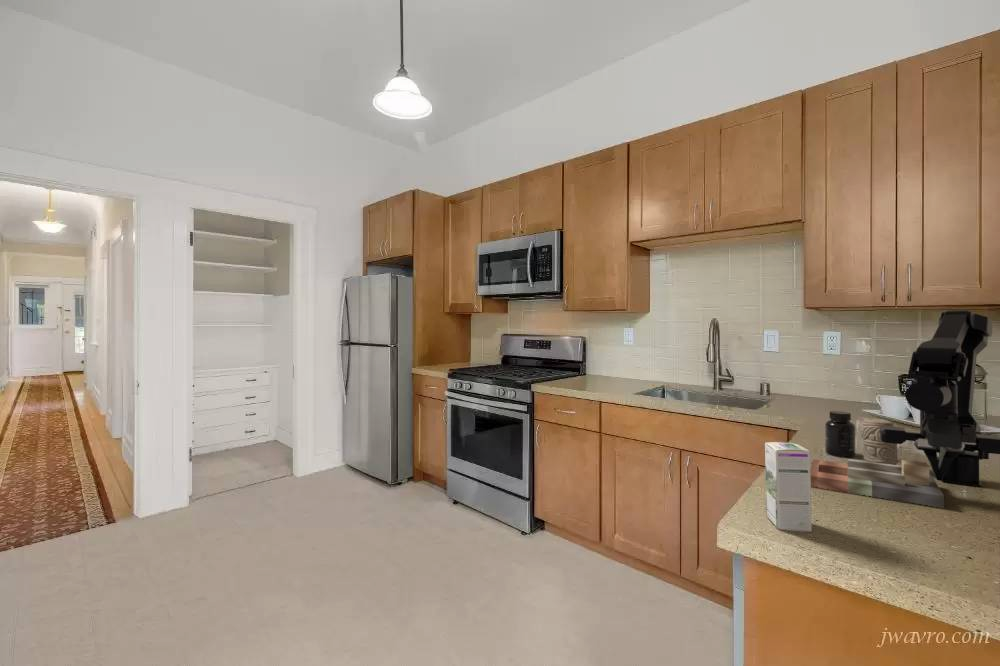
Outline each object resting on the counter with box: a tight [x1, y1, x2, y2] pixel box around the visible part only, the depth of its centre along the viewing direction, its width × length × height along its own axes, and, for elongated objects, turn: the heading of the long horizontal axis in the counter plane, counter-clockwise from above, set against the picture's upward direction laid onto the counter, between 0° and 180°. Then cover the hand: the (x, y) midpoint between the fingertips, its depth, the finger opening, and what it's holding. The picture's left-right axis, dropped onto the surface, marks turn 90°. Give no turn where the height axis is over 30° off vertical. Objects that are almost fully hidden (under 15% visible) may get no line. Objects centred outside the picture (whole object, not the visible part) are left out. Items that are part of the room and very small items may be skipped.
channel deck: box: [810, 458, 945, 510], centre depth 102 cm, size 22×16×4 cm
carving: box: [859, 417, 899, 465], centre depth 117 cm, size 6×8×12 cm
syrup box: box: [764, 441, 813, 533], centre depth 83 cm, size 6×6×14 cm
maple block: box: [901, 459, 930, 486], centre depth 98 cm, size 4×4×4 cm
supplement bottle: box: [824, 410, 856, 459], centre depth 128 cm, size 7×7×12 cm
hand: (939, 480), depth 96 cm, fingers closed
